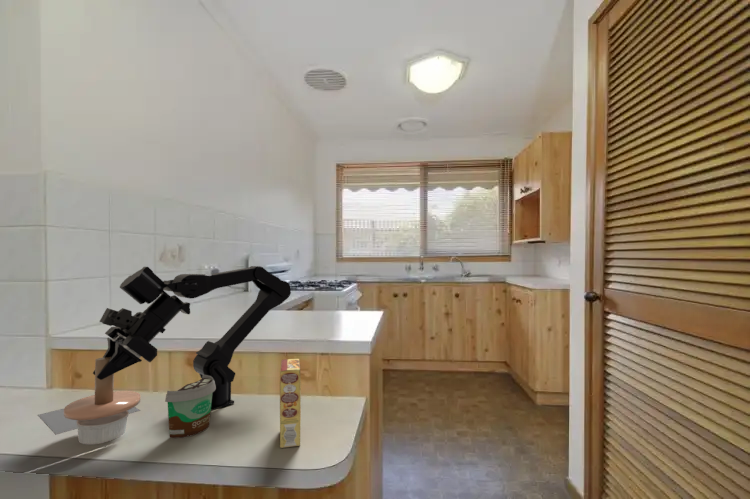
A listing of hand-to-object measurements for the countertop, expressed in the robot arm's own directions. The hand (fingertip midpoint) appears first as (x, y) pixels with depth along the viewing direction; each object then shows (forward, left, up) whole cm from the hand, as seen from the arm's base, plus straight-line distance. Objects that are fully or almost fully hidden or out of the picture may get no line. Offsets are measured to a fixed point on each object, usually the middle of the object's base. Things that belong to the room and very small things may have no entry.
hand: (96, 376), depth 77 cm
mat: (-3, -16, -13) cm, 21 cm away
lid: (-1, 0, -7) cm, 7 cm away
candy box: (-25, +31, -13) cm, 42 cm away
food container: (-15, +12, -13) cm, 24 cm away
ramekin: (-1, 0, -13) cm, 13 cm away
